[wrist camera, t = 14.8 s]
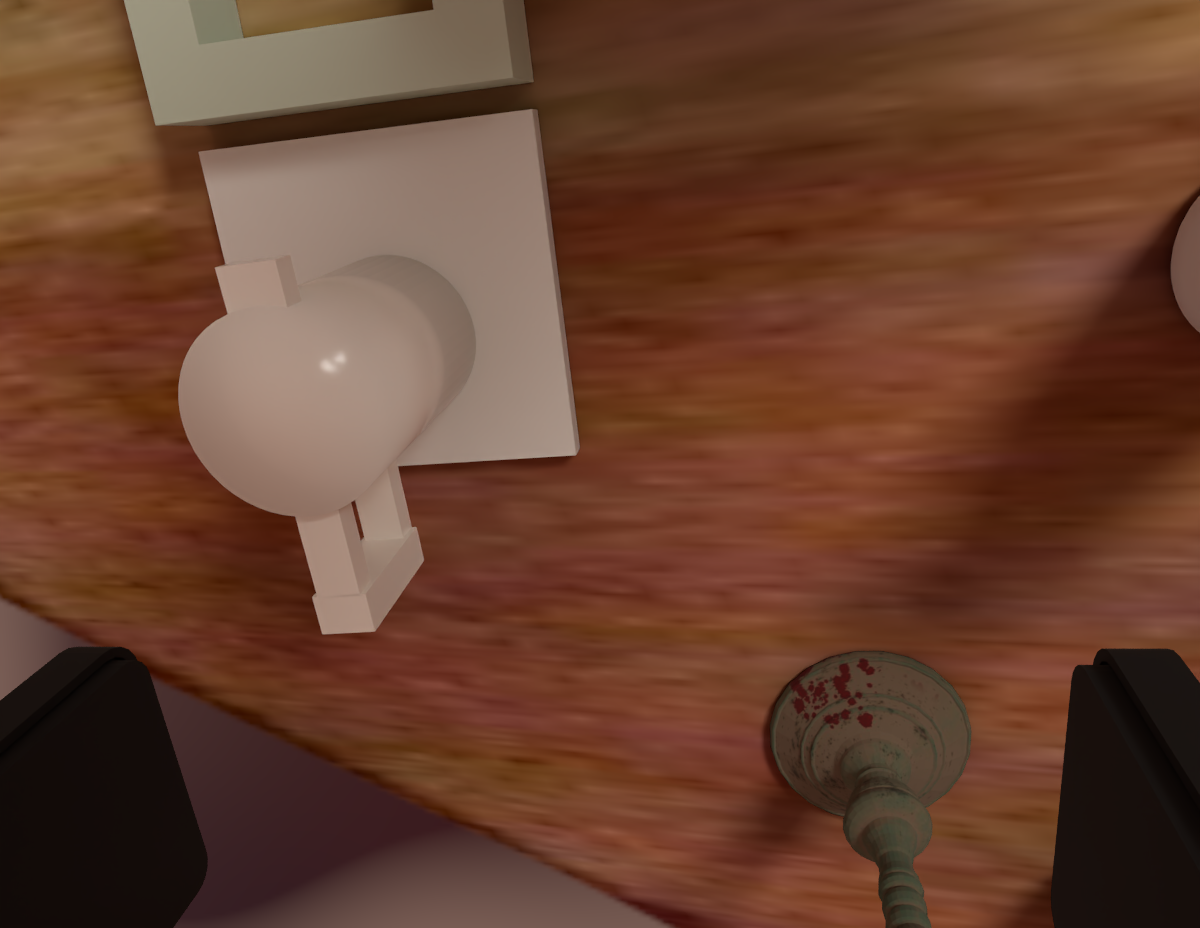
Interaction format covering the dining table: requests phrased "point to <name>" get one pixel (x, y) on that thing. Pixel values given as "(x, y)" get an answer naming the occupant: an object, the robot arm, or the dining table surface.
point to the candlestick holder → (875, 759)
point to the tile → (428, 255)
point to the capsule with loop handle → (329, 411)
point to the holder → (320, 59)
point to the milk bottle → (1188, 266)
